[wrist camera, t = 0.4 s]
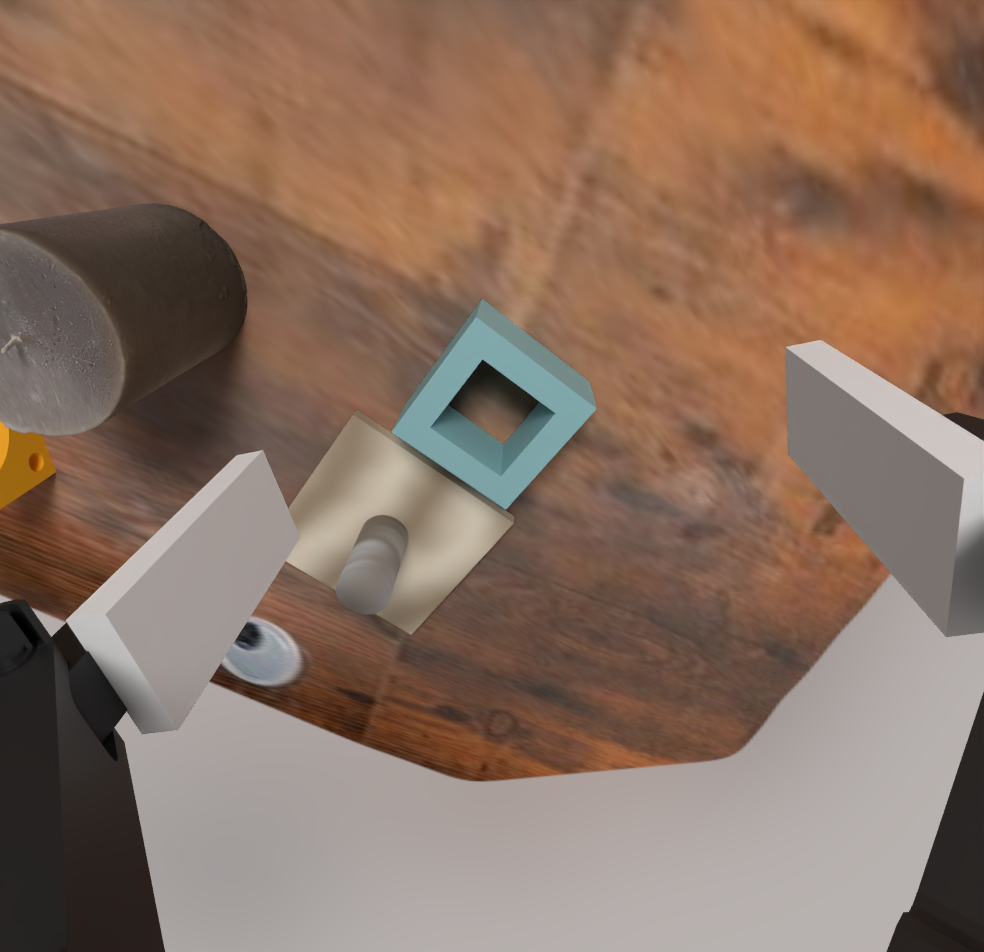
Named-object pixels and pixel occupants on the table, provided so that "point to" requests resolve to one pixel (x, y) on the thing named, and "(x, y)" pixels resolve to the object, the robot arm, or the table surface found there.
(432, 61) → the table surface
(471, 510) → the post block
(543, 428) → the collar
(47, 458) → the pipe clamp
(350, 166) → the table surface
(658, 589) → the table surface
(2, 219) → the table surface
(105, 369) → the pillar candle
